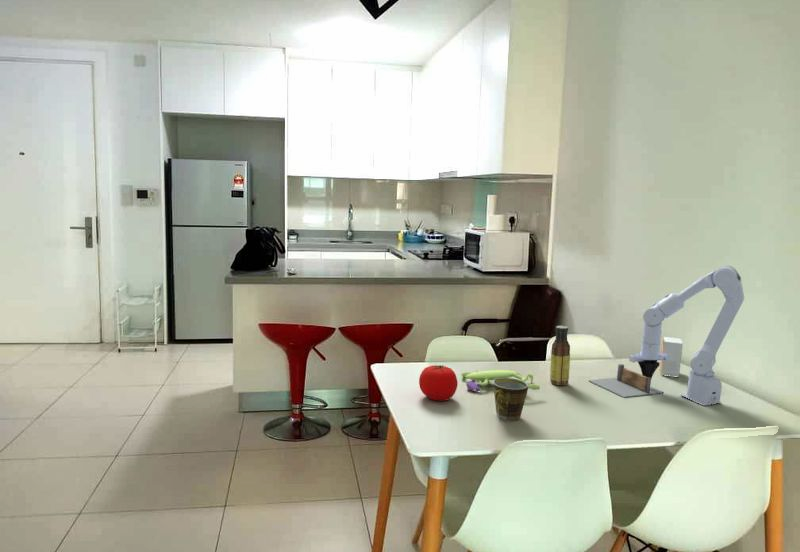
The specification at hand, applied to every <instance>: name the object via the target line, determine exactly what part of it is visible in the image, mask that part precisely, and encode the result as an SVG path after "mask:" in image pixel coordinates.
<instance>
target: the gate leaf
mask: <svg viewBox="0 0 800 552" xmlns="http://www.w3.org/2000/svg"><path fill="white" fill-rule="evenodd" d="M621 381H623V382H626V383H628V384H630V385H632V386H635V387H637V388H639V389H641V390H644V391H647V382H648V377H646V376H643V375H642V373H641V374H640V373H639V372H636V371H633V370H630V369H628V368H626V367H624V368H623V369H622V379H621Z"/></svg>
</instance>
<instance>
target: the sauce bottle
mask: <svg viewBox="0 0 800 552" xmlns="http://www.w3.org/2000/svg"><path fill="white" fill-rule="evenodd" d="M568 332H569V327H568V326H565V325H556V326H555V338H554V339H555V340H554V341H553V343H552V345H551V353H550V374H549V378H550V383H551V384H552V385H555V386H567V385H568V384H569V380H570V365H571V364H570V363H571V346H570V345H571V344H570V343H569V341H568Z"/></svg>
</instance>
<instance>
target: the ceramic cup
mask: <svg viewBox="0 0 800 552" xmlns="http://www.w3.org/2000/svg"><path fill="white" fill-rule="evenodd" d="M528 385H529V383H528V382H527V381H525V382H524V381H522V380H520V379H518V378H512V377H510V378H499V379H496V380H493V381H492V386H493V387H492V388H493V394H494V403H495V404H494V405H495V413H496V416H497V417H498V419H500V418H501V419H500V420H503V419H504V421H506V420H509V421H511V422H512V421H513V422H514V421H517V420H519V419H520V418H521V416H522V412H523V408H524V406H525V400H526V397H527V395H528ZM509 421H508V422H509Z"/></svg>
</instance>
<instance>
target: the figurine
mask: <svg viewBox="0 0 800 552" xmlns="http://www.w3.org/2000/svg"><path fill="white" fill-rule="evenodd" d="M461 377H462V378H466V379H467V380H468V379H469V380H470V381H468V382H467V383H466V389H467V390H469V389H470V390H472V391H480V392H481V386H487V385H488V384H489V381H492V382H493V381H494V380H496V379H499V378H512V377H514V378H515V379H518V380H522V381H524V382H527V381H528V380H529V379H530V384H529V383H528V389H538V390H540V385H538V384H532V383H533V380H534V376H533V374H532V373H529V372H528V373H527V376H526V377H525V376H523V375H522V374H520V373H518V372H517V371H515V370H507V369H506V370H505V369H496V370H495V369H491V370H482V371H479V370H476V371H474V372H469V371H464V372H462V373H461ZM470 390H469V391H470ZM472 391H471V392H472Z"/></svg>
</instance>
